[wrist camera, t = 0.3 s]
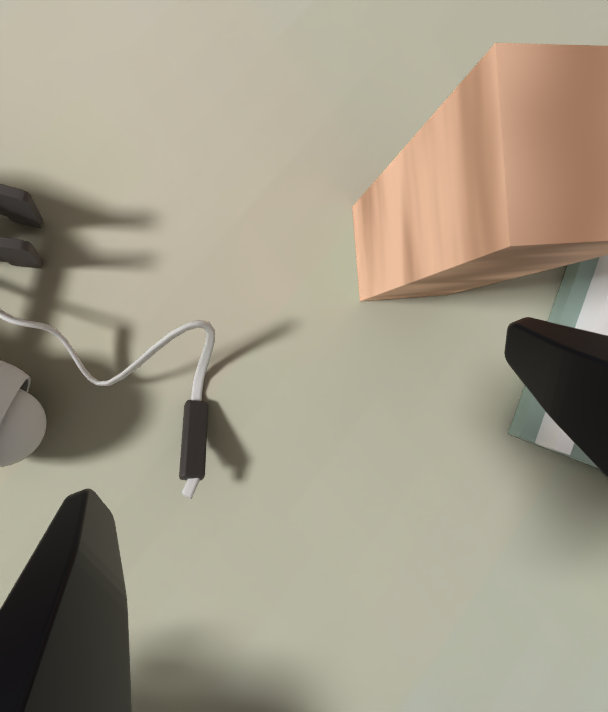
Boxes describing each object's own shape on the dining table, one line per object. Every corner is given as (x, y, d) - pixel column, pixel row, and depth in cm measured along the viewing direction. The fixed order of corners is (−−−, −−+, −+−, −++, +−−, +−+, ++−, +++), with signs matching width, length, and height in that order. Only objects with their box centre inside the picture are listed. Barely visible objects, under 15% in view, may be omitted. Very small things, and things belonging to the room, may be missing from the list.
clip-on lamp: (245, 312, 26) (-135, 144, 19) (285, 301, 20) (-242, 53, 14) (168, 513, 24) (-278, 405, 18) (187, 564, 19) (-470, 431, 12)
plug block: (440, 203, 25) (667, 47, 12) (447, 294, 25) (679, 236, 12) (352, 207, 24) (495, 43, 11) (359, 301, 24) (510, 246, 11)
